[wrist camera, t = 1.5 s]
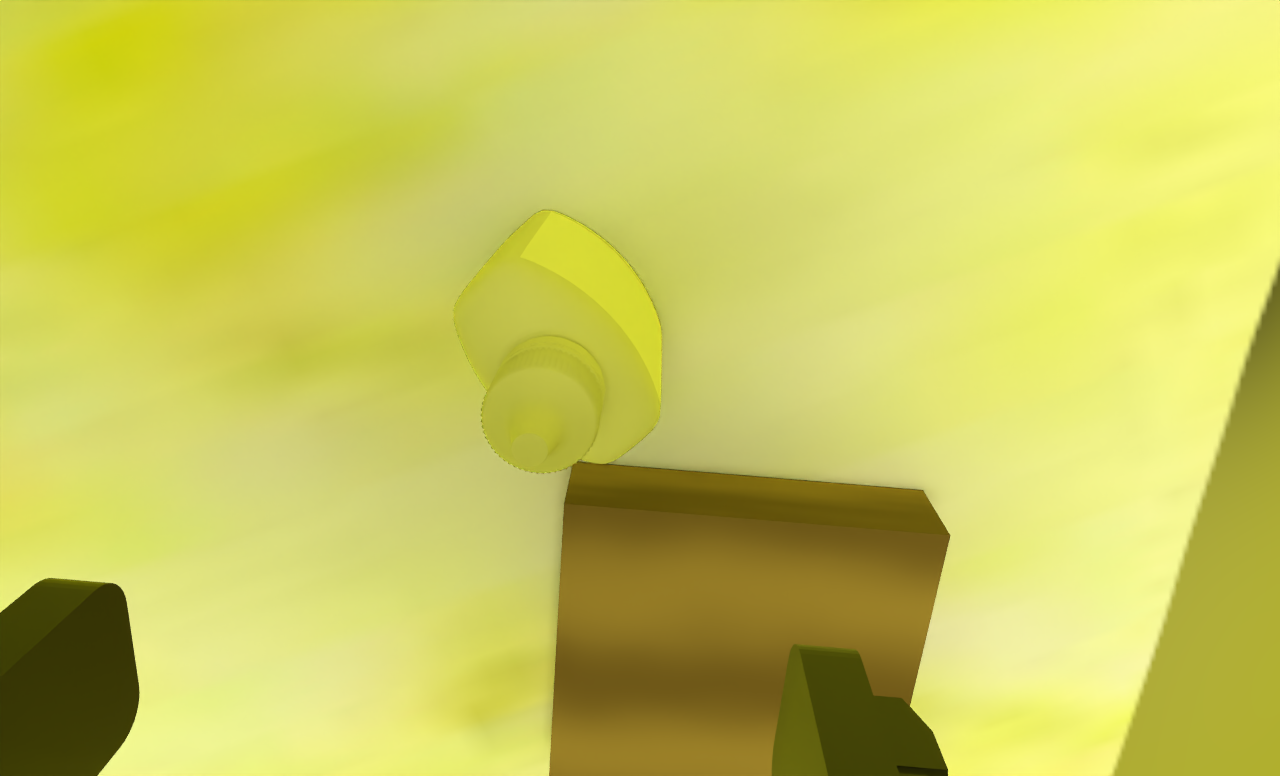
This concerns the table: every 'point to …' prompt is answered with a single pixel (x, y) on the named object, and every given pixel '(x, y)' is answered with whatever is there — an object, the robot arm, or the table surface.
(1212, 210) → the table surface
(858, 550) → the walnut plinth
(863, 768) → the robot arm
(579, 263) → the squeeze bottle
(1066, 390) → the table surface
